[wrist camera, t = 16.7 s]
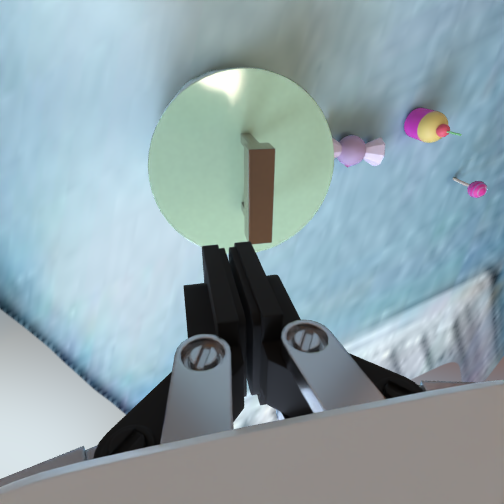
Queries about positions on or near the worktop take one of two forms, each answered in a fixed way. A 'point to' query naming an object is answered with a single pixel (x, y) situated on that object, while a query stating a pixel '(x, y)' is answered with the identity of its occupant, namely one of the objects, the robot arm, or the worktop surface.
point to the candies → (416, 126)
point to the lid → (241, 159)
